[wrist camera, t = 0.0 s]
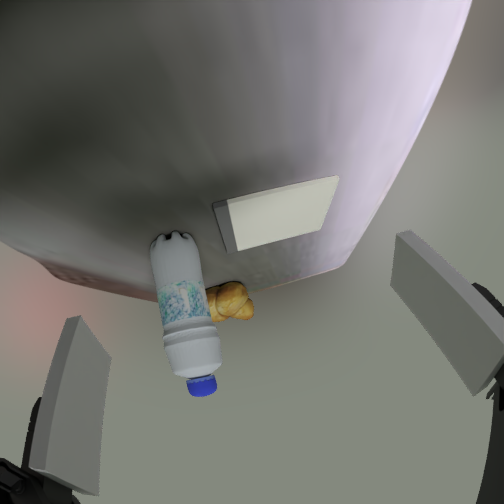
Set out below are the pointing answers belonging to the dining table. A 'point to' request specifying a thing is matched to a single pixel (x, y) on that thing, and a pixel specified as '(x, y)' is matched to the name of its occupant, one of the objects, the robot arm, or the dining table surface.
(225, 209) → the mat
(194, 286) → the bottle
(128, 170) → the dining table surface
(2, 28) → the dining table surface
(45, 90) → the dining table surface
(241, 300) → the bread roll
